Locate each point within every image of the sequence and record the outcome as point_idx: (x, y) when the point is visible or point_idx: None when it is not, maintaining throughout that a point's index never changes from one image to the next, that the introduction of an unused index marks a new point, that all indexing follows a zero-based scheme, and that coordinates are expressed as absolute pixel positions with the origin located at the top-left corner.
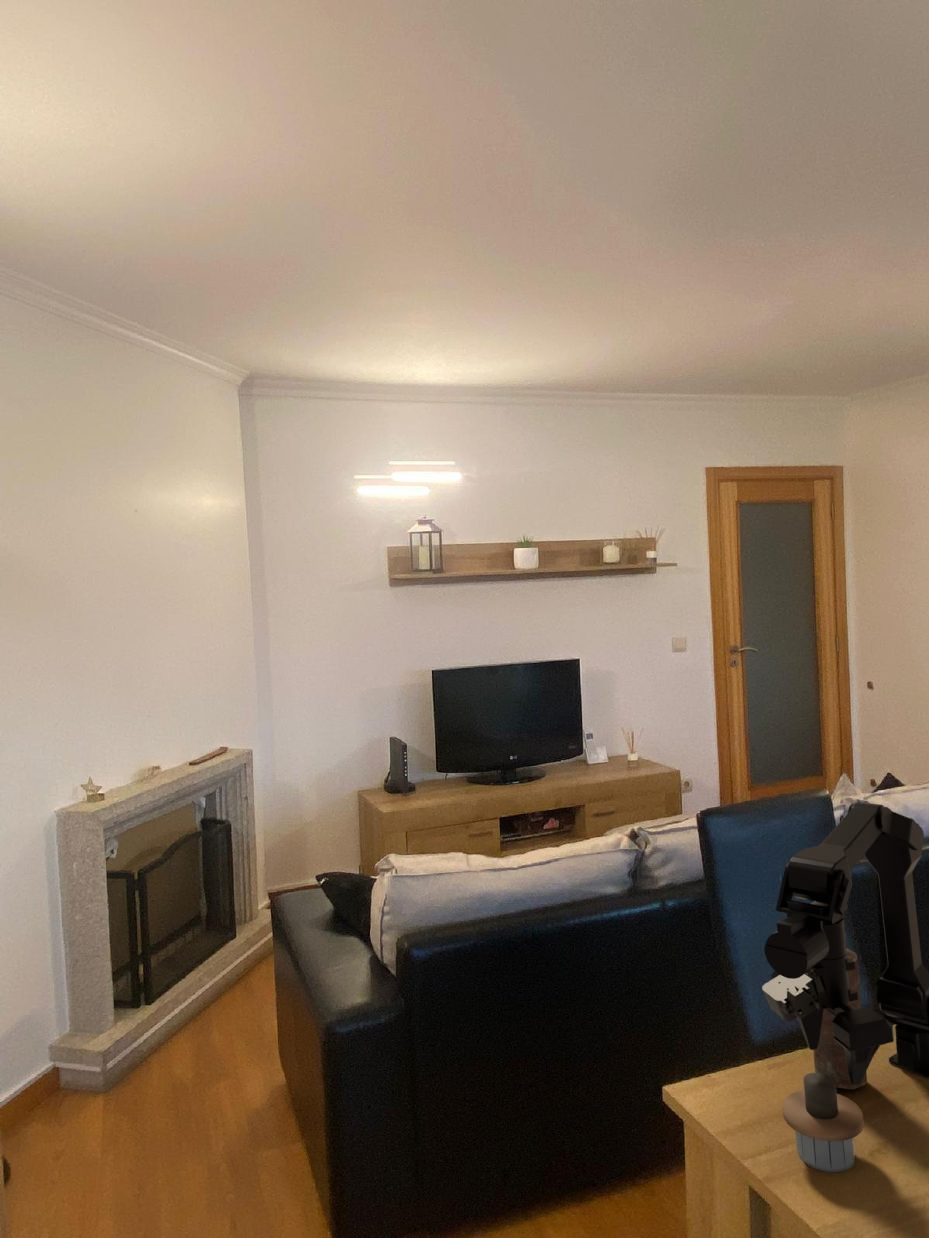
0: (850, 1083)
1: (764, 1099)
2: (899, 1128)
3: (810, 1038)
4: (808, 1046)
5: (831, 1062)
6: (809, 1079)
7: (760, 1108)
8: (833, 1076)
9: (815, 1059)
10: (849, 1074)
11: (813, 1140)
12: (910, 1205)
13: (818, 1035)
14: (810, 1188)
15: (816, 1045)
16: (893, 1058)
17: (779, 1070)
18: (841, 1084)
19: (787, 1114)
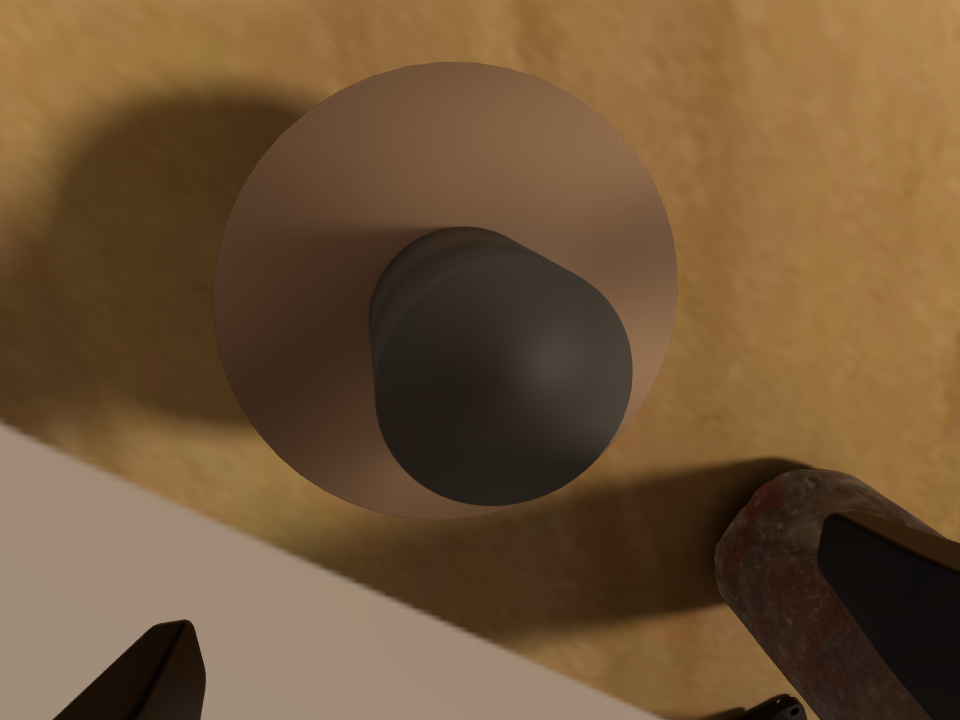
0: (729, 556)
1: (824, 218)
2: (498, 585)
3: (923, 590)
4: (866, 514)
5: None
6: (552, 321)
7: (785, 168)
8: (778, 520)
9: (884, 506)
10: (120, 698)
11: None
12: (64, 423)
13: (914, 681)
14: (225, 72)
15: (838, 582)
16: (794, 715)
17: (932, 368)
18: (742, 525)
19: (486, 79)
